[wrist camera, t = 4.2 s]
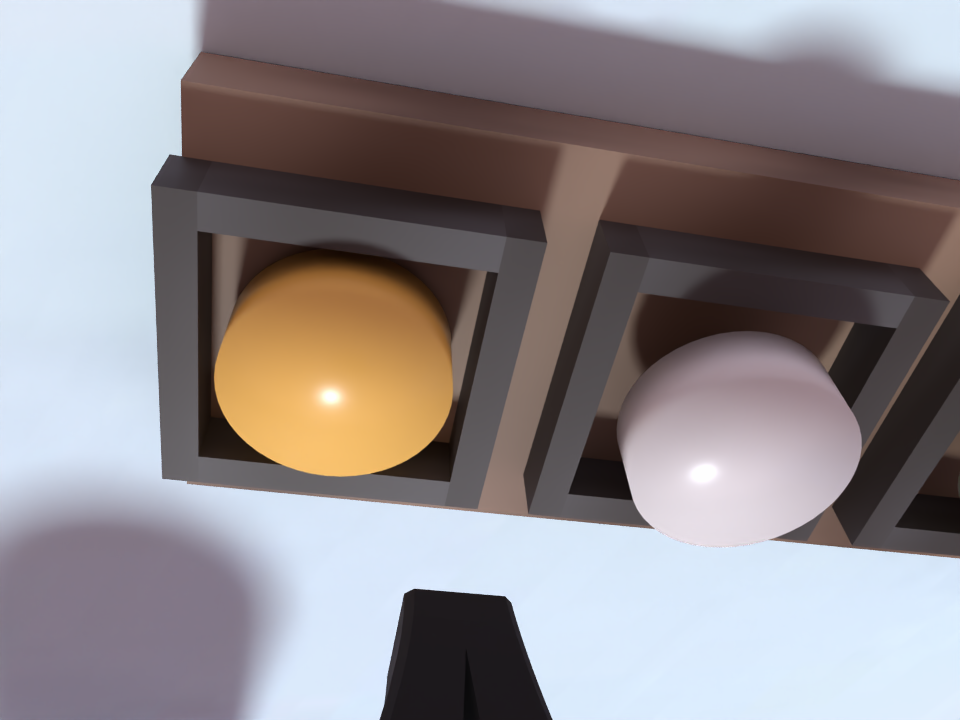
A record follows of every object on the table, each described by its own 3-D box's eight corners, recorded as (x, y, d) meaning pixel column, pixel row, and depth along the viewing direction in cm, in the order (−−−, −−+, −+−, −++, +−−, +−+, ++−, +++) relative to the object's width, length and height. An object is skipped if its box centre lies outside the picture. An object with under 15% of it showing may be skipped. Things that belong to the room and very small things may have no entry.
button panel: (1238, 227, 18) (1349, 296, 16) (1007, 522, 23) (1068, 604, 21) (189, 49, 15) (147, 104, 13) (192, 437, 20) (164, 523, 18)
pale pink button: (869, 346, 16) (903, 393, 15) (781, 505, 18) (804, 555, 17) (653, 316, 15) (671, 364, 14) (592, 485, 18) (603, 536, 17)
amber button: (469, 265, 15) (472, 308, 14) (433, 438, 18) (433, 486, 17) (230, 232, 15) (214, 273, 14) (227, 416, 17) (213, 464, 16)
